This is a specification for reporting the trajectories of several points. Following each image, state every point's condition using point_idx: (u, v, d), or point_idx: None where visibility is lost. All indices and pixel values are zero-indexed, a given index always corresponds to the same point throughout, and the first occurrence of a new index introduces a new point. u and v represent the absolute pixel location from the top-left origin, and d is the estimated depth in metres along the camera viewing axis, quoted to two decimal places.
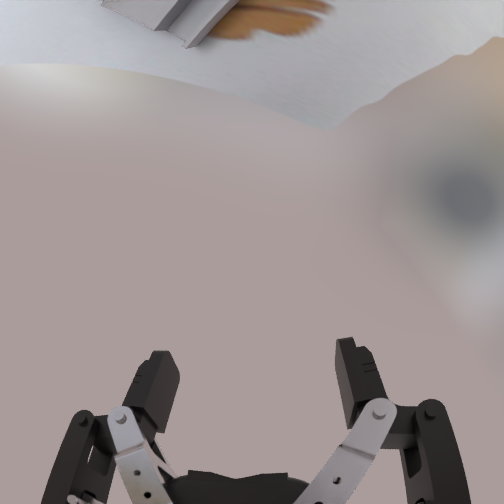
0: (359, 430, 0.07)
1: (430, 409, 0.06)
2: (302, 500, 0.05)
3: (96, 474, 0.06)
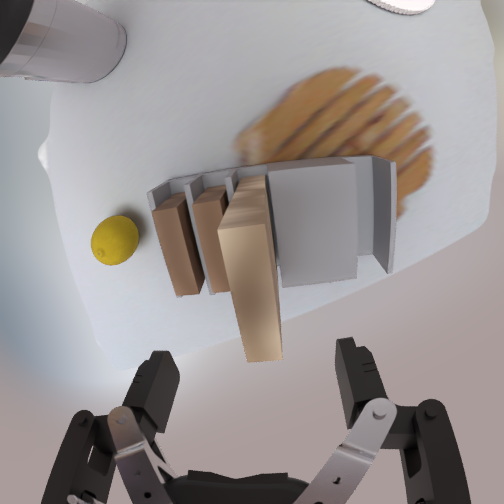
0: (359, 430, 0.07)
1: (430, 409, 0.06)
2: (302, 500, 0.05)
3: (96, 474, 0.06)
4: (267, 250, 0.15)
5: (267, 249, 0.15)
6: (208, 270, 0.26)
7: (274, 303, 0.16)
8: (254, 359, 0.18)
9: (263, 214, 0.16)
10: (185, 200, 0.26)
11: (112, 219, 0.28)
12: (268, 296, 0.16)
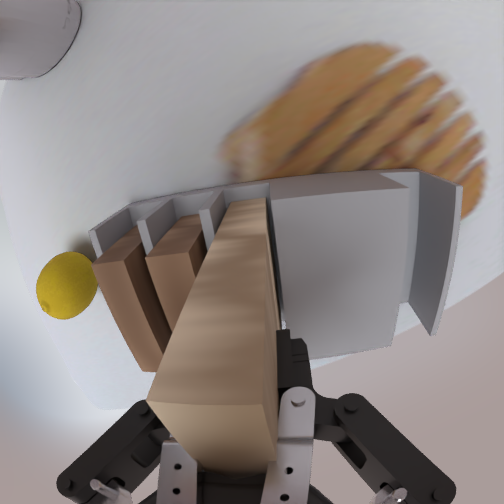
0: (286, 421, 0.08)
1: (349, 404, 0.08)
2: (267, 498, 0.05)
3: (136, 465, 0.07)
4: (267, 435, 0.05)
5: (267, 434, 0.05)
6: None
7: None
8: None
9: (260, 347, 0.06)
10: None
11: (59, 260, 0.19)
12: None
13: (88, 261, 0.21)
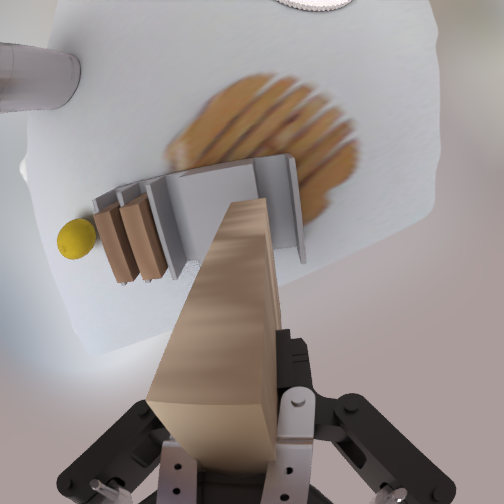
0: (286, 421, 0.08)
1: (349, 404, 0.08)
2: (267, 498, 0.05)
3: (136, 465, 0.07)
4: (266, 435, 0.05)
5: (266, 434, 0.05)
6: (137, 261, 0.30)
7: None
8: None
9: (259, 348, 0.06)
10: None
11: (72, 222, 0.32)
12: (266, 471, 0.07)
13: (90, 224, 0.35)
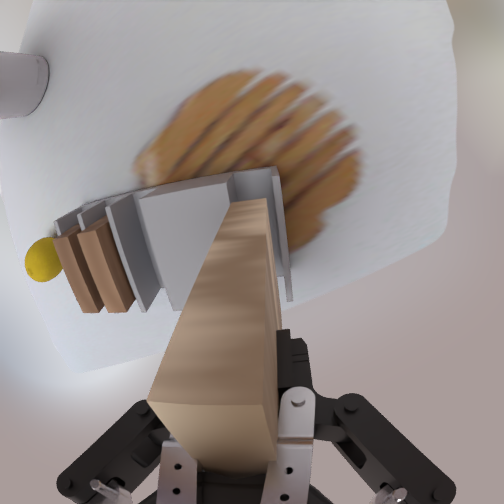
0: (286, 421, 0.08)
1: (349, 404, 0.08)
2: (267, 498, 0.05)
3: (136, 465, 0.07)
4: (267, 436, 0.05)
5: (267, 435, 0.05)
6: (100, 292, 0.25)
7: None
8: None
9: (260, 348, 0.06)
10: None
11: (40, 242, 0.27)
12: None
13: None
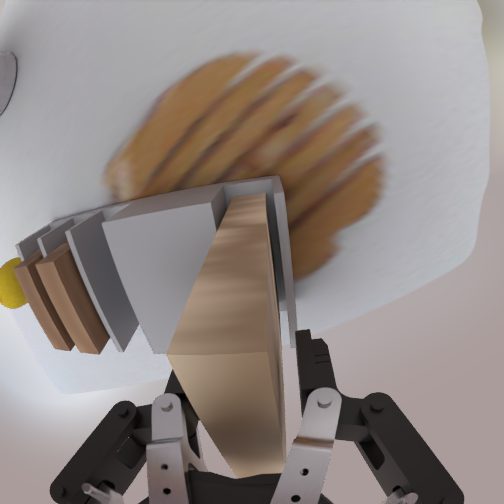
0: (309, 421, 0.08)
1: (375, 403, 0.07)
2: (278, 497, 0.05)
3: (122, 466, 0.07)
4: (270, 389, 0.07)
5: (270, 387, 0.07)
6: (68, 331, 0.19)
7: (279, 440, 0.08)
8: (246, 476, 0.10)
9: (264, 310, 0.07)
10: None
11: (8, 264, 0.21)
12: (269, 435, 0.08)
13: None
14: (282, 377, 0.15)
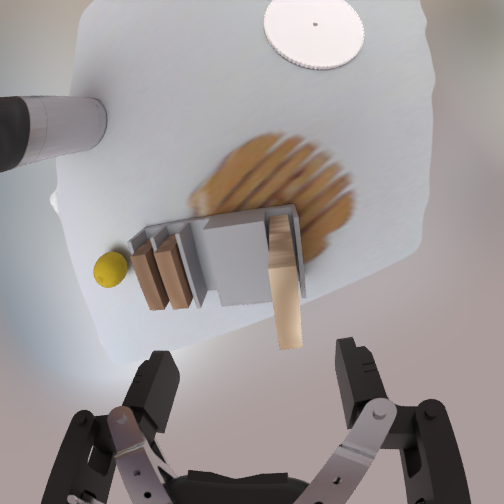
0: (359, 430, 0.07)
1: (430, 409, 0.06)
2: (302, 500, 0.05)
3: (96, 474, 0.06)
4: (296, 280, 0.25)
5: (296, 280, 0.25)
6: (168, 294, 0.37)
7: (299, 311, 0.26)
8: (284, 347, 0.28)
9: (293, 258, 0.26)
10: None
11: (107, 256, 0.40)
12: (295, 307, 0.26)
13: (122, 257, 0.43)
14: None
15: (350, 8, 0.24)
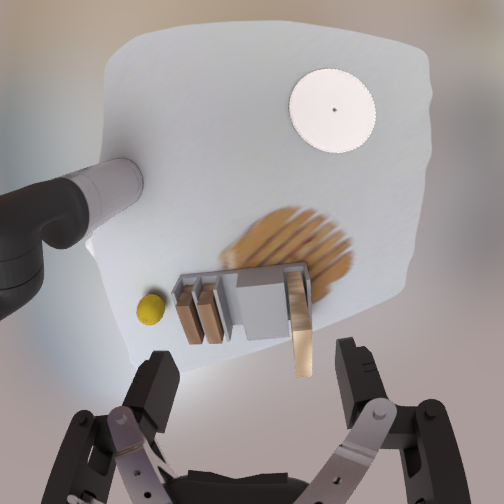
0: (359, 430, 0.07)
1: (430, 409, 0.06)
2: (302, 500, 0.05)
3: (96, 474, 0.06)
4: (311, 337, 0.35)
5: (311, 337, 0.35)
6: (206, 333, 0.48)
7: (311, 354, 0.37)
8: (299, 376, 0.39)
9: (309, 321, 0.36)
10: (192, 297, 0.48)
11: (149, 299, 0.50)
12: (309, 352, 0.37)
13: (160, 299, 0.53)
14: None
15: (366, 91, 0.35)
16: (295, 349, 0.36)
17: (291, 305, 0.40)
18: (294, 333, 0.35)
